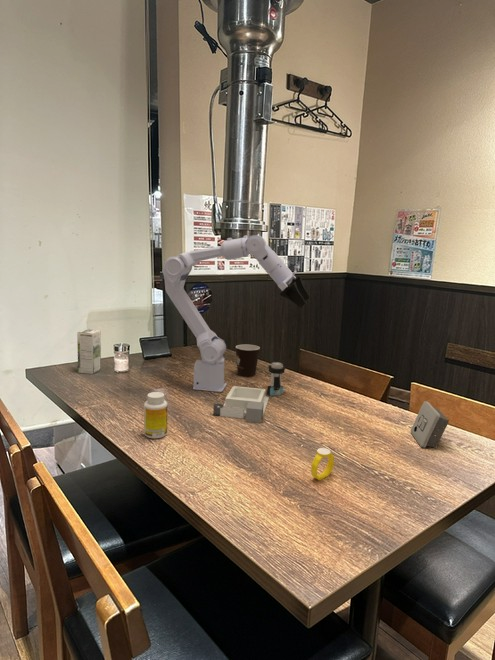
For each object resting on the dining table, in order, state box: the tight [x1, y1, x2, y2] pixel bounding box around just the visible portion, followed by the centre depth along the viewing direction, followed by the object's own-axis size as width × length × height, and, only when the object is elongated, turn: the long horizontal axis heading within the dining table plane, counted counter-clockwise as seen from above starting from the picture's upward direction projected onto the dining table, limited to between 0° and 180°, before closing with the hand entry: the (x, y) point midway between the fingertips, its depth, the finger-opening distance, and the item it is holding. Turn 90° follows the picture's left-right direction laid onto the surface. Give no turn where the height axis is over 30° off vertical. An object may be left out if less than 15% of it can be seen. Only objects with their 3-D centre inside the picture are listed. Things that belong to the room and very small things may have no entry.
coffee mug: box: [235, 343, 261, 378], centre depth 157 cm, size 12×9×10 cm
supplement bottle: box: [143, 391, 168, 439], centre depth 105 cm, size 6×6×10 cm
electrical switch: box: [410, 400, 450, 449], centre depth 108 cm, size 9×5×9 cm, turn 176°
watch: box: [310, 447, 335, 481], centre depth 89 cm, size 6×3×6 cm, turn 132°
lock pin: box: [212, 403, 246, 420], centre depth 119 cm, size 8×3×3 cm, turn 80°
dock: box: [223, 385, 270, 424], centre depth 125 cm, size 12×19×4 cm, turn 171°
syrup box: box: [76, 328, 102, 375], centre depth 150 cm, size 6×6×14 cm
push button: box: [266, 361, 286, 397], centre depth 137 cm, size 7×5×10 cm
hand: (305, 302), depth 130 cm, fingers open, 7 cm apart
